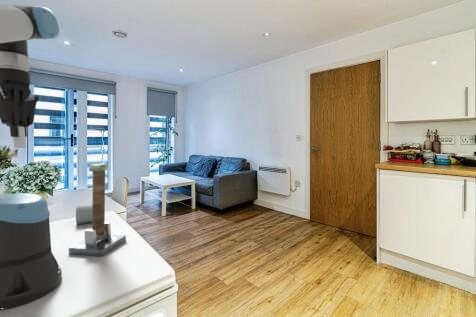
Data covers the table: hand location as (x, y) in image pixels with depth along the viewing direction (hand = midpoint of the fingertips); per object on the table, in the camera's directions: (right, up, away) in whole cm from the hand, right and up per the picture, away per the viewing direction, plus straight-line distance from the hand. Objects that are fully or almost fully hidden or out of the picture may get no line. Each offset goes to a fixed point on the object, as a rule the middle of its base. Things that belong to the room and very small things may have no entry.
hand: (20, 147), depth 77 cm
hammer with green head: (+20, -31, +7) cm, 38 cm away
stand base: (+21, -34, +7) cm, 40 cm away
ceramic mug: (0, -32, +34) cm, 47 cm away
